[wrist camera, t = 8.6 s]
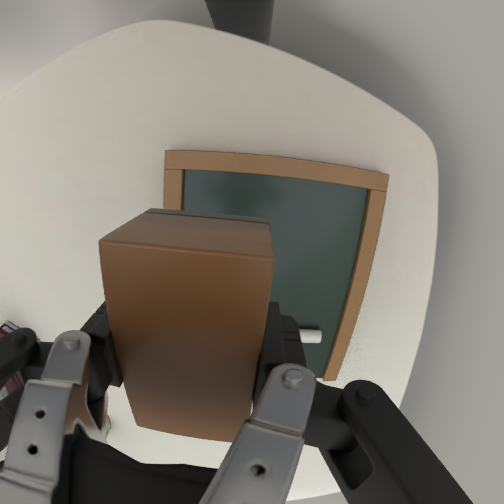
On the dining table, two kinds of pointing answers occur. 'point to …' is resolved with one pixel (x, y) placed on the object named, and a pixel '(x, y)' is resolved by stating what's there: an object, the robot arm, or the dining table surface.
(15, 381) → the supplement box
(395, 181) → the dining table surface
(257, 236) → the eraser
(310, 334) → the chalk
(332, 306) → the slate board
